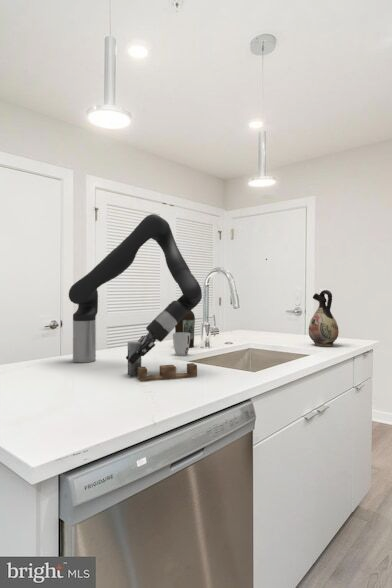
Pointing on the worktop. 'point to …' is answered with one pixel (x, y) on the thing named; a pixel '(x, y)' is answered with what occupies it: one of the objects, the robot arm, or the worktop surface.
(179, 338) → the cup
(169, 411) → the worktop surface
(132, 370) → the gray rectangular block
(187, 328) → the olive oil
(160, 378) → the brown notched bar
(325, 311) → the ceramic jug
